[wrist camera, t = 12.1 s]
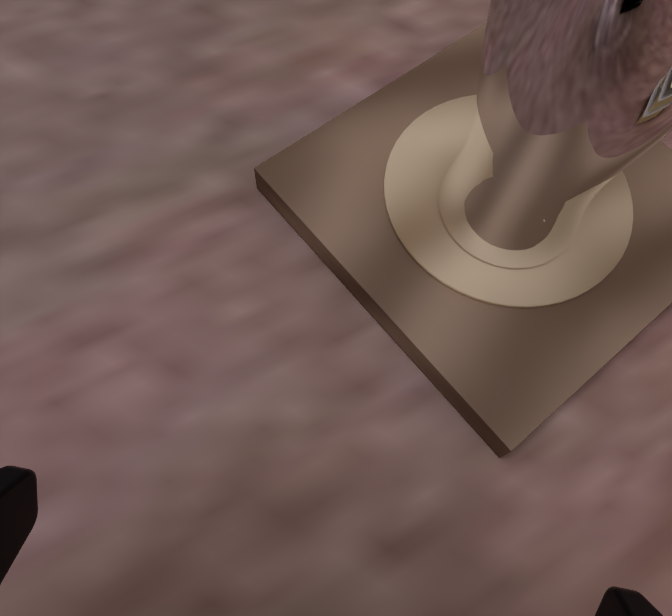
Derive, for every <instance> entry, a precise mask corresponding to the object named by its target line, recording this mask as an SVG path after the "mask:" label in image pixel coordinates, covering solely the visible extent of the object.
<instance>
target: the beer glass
mask: <svg viewBox="0 0 672 616" xmlns="http://www.w3.org/2000/svg"><path fill="white" fill-rule="evenodd" d="M671 131H672V0H491V2H490V7H489V13H488V18H487V24H486V29H485V34H484V40H483V47H482V55H481V63H480V71H479V79H478V88H477V97H476V106H475V112H474V119H473V124H472V128H471V131H470V135H469V137H468V139H467V142H466V144H465V145H464V147H463V149H462V150H461V151H460V153H459V154H458V156H457V157H456V158H455V160H454V161H453V163H452V164H451V166H450V167H449V169H448V170H447V172H446V174H445V176H444V178H443V180H442V183H441V186H440V190H439V210H440V214H441V218H442V220H443V223H444V225H445V227H446V229H447V231H448V232H449V234H450V235H451V236H452V238H453V239H454V240H455V241H456V242H457V243H458V244H459V245H460V246H461V247H462V248H463V249H464V250H465V251H467V252H468V253H469V254H471V255H473V256H474V257H476V258H478V259H480V260H482V261H484V262H486V263H489V264H492V265H495V266H499V267H504V268H514V269H521V268H530V267H535V266H539V265H542V264H544V263H547V262H549V261H551V260H552V259H554V258H556V257H557V256H559V255H560V254H561V253H562V252H563V251H565V249H566V248H567V247H568V246H569V245H570V243H571V242H572V240H573V238H574V236H575V234H576V232H577V229H578V227H579V224H580V222H581V219H582V216H583V214H584V212H585V210H586V208H587V206H588V205H589V203H590V202H591V200H592V199H593V198H594V196H595V195H597V193H598V192H599V191H600V190H601V189H602V188H603V187H604V186H605V185H606V184H607V183H608V182H609V181H610V180H612V179H613V178H614V177H615V176H616V175H618V174H619V173H620V172H621V171H622V170H624V169H625V168H626V167H627V166H629V165H630V164H631V163H633V162H634V161H635V160H636V159H638V158H639V157H640V156H641V155H643V154H644V153H645V152H646V151H648V150H649V149H650V148H651V147H653V146H654V145H655V144H656V143H657V142H659V141H660V140H661V139H662V138H664V137H665V136H666V135H667V134H669V133H670V132H671Z"/></svg>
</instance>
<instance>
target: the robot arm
mask: <svg viewBox="0 0 672 616" xmlns="http://www.w3.org/2000/svg"><path fill="white" fill-rule="evenodd" d="M37 513H38V502H37V479H36V474H35V472H34V471H32V470H30V469H26V468H21V467H16V466H5V467H2V468H0V584H1V582H2V581H3V579H4V577H5V575H6V574H7V572H8V570H9V568H10V567H11V565H12V563H13V561H14V560H15V558H16V556H17V554H18V553H19V551H20V549H21V547H22V546H23V544H24V542H25V540H26V539H27V537H28V535H29V533H30V532H31V530H32V528H33V526H34V524H35V521H36V518H37ZM595 616H663V615H662V614H661V613H660V612H659V611H658V610H657V609H656V608H655V607H654V606H653V605H652V604H651V603H650V602H649V601H648V600H647V599H646V598H645V597H644V596H643V595H641V594H640V593H639V592H637V591H634V590H629V589H625V588H620V587H610V588H609V589H607V591H606V592H605V594H604V596H603V599H602V601H601V603H600V605H599V607H598V610H597V612H596V614H595Z"/></svg>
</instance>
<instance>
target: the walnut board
mask: <svg viewBox="0 0 672 616" xmlns="http://www.w3.org/2000/svg"><path fill="white" fill-rule="evenodd" d="M486 24H487V23H486ZM486 24H484V25H483V26H481V27H479V28H478V29H476V30H475V31H473V32H471V33H470V34H468V35H467V36H465V37H463V38H462V39H460V40H459V41H457V42H455V43H454V44H452V45H451V46H449V47H447V48H446V49H444V50H443V51H441V52H439V53H438V54H436V55H435V56H433V57H431V58H430V59H428V60H427V61H425V62H423V63H422V64H420V65H419V66H417V67H415V68H414V69H412V70H411V71H409V72H407V73H406V74H404V75H403V76H401V77H399V78H398V79H396V80H395V81H393V82H391V83H390V84H388V85H387V86H385V87H383V88H382V89H380V90H379V91H377V92H375V93H374V94H372V95H371V96H369V97H367V98H366V99H364V100H363V101H361V102H359V103H358V104H356V105H355V106H353V107H352V108H350V109H348V110H347V111H345V112H344V113H342V114H340V115H339V116H337V117H336V118H334V119H332V120H331V121H329V122H328V123H326V124H324V125H323V126H321V127H320V128H318V129H316V130H315V131H313V132H312V133H310V134H308V135H307V136H305V137H304V138H302V139H300V140H299V141H297V142H296V143H294V144H292V145H291V146H289V147H288V148H286V149H284V150H283V151H281V152H280V153H278V154H276V155H275V156H273V157H272V158H270V159H268V160H267V161H265V162H264V163H262V164H260V165H259V166H257V167H256V168H254V171H255V178H256V185H257V188H258V190H259V191H260V192H261V193H262V194H263V195H264V196H265V197H266V198H267V200H268V201H269V202H270V203H271V204H272V205H273V206H274V207H275V208H276V210H277V211H278V212H279V213H280V214H281V215H282V216H283V217H284V218H285V220H286V221H287V222H288V223H289V224H290V225H291V226H292V227H293V228H294V230H295V231H296V232H297V233H298V234H299V235H300V236H301V237H302V238H303V240H304V241H305V242H306V243H307V244H308V245H309V246H310V247H311V249H312V250H313V251H314V252H315V253H316V254H317V255H318V256H319V257H320V259H321V260H322V261H323V262H324V263H325V264H326V265H327V266H328V267H329V269H330V270H331V271H332V272H333V273H334V274H335V275H336V276H337V277H338V279H339V280H340V281H341V282H342V283H343V284H344V285H345V286H346V287H347V289H348V290H349V291H350V292H351V293H352V294H353V295H354V296H355V297H356V299H357V300H358V301H359V302H360V303H361V304H362V305H363V306H364V307H365V309H366V310H367V311H368V312H369V313H370V314H371V315H372V316H373V317H374V319H375V320H376V321H377V322H378V323H379V324H380V325H381V326H382V327H383V329H384V330H385V331H386V332H387V333H388V334H389V335H390V336H391V338H392V339H393V340H394V341H395V342H396V343H397V344H398V345H399V346H400V348H401V349H402V350H403V351H404V352H405V353H406V354H407V355H408V356H409V358H410V359H411V360H412V361H413V362H414V363H415V364H416V365H417V366H418V368H419V369H420V370H421V371H422V372H423V373H424V374H425V375H426V376H427V378H428V379H429V380H430V381H431V382H432V383H433V384H434V385H435V386H436V388H437V389H438V390H439V391H440V392H441V393H442V394H443V395H444V396H445V398H446V399H447V400H448V401H449V402H450V403H451V404H452V405H453V406H454V408H455V409H456V410H457V411H458V412H459V413H460V414H461V415H462V416H463V418H464V419H465V420H466V421H467V422H468V423H469V424H470V425H471V427H472V428H473V429H474V430H475V431H476V432H477V433H478V434H479V435H480V437H481V438H482V439H483V440H484V441H485V442H486V443H487V444H488V445H489V447H490V448H491V449H492V450H493V451H494V452H495V453H496V454H497V455H498V457H499V458H500V457H502V456H503V455H505V454H507V453H509V452H511V451H512V450H513V449H514V448H515V447H516V446H518V445H519V444H520V443H521V442H522V441H523V440H524V439H525V438H526V437H527V436H528V435H529V434H530V433H532V432H533V431H534V430H535V429H536V428H537V427H538V426H539V425H540V424H541V423H542V422H543V421H545V420H546V419H547V418H548V417H549V416H550V415H551V414H552V413H553V412H554V411H555V410H556V409H557V408H559V407H560V406H561V405H562V404H563V403H564V402H565V401H566V400H567V399H568V398H569V397H570V396H572V395H573V394H574V393H575V392H576V391H577V390H578V389H579V388H580V387H581V386H582V385H583V384H584V383H586V382H587V381H588V380H589V379H590V378H591V377H592V376H593V375H594V374H595V373H596V372H597V371H599V370H600V369H601V368H602V367H603V366H604V365H605V364H606V363H607V362H608V361H609V360H610V359H611V358H613V357H614V356H615V355H616V354H617V353H618V352H619V351H620V350H621V349H622V348H623V347H624V346H626V345H627V344H628V343H629V342H630V341H631V340H632V339H633V338H634V337H635V336H636V335H637V334H638V333H640V332H641V331H642V330H643V329H644V328H645V327H646V326H647V325H648V324H649V323H650V322H651V321H653V320H654V319H655V318H656V317H657V316H658V315H659V314H660V313H661V312H662V311H663V310H664V309H665V308H667V307H668V306H669V305H670V304H671V303H672V150H671V149H670V148H669V147H667V146H666V145H665V144H664V143H662V142H661V141H659V142H657V143H656V144H655V145H654V146H653V147H651V148H650V149H649V150H648V151H646V152H645V153H644V154H643V155H641V156H640V157H639V158H638V159H636V160H635V161H634V162H633V163H631V164H630V165H629V166H627V167H626V168H625V169H624V170H622V171H621V172H620V173H619V174H618V175H616V176H615V177H614V178H613V179H612V180H610V181H609V182H608V183H607V184H606V185H605V186H604V187H603V188H602V189H601V190H600V191H599V192H598V193H597V195H595V196H594V198H593V199H592V200H591V202H590V203H589V205H588V206H587V208H586V210H585V212H584V214H583V216H582V219H581V222H580V224H579V227H578V229H577V232H576V234H575V236H574V238H573V240H572V242H571V243H570V245H569V246H568V247H567V248H566V249H565V251H563V252H562V253H561V254H560V255H559V256H557V257H556V258H554V259H552V260H551V261H549V262H547V263H544V264H542V265H539V266H535V267H530V268H521V269H514V268H504V267H499V266H495V265H492V264H489V263H486V262H484V261H482V260H480V259H478V258H476V257H474V256H473V255H471V254H469V253H468V252H467V251H465V250H464V249H463V248H462V247H461V246H460V245H459V244H458V243H457V242H456V241H455V240H454V239H453V238H452V236H451V235H450V234H449V232H448V231H447V229H446V227H445V225H444V223H443V220H442V218H441V214H440V210H439V190H440V186H441V183H442V180H443V178H444V176H445V174H446V172H447V170H448V169H449V167H450V166H451V164H452V163H453V161H454V160H455V158H456V157H457V156H458V154H459V153H460V151H461V150H462V149H463V147H464V145H465V144H466V142H467V139H468V137H469V135H470V131H471V128H472V124H473V119H474V112H475V106H476V97H477V88H478V79H479V71H480V63H481V55H482V47H483V40H484V34H485V29H486Z"/></svg>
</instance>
